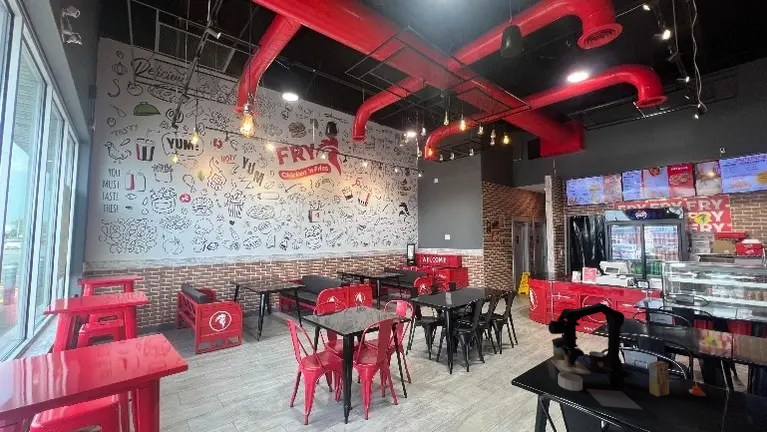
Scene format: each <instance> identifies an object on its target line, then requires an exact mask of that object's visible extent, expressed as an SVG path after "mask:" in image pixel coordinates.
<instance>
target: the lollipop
mask: <svg viewBox="0 0 767 432" xmlns="http://www.w3.org/2000/svg"><path fill="white" fill-rule="evenodd" d="M693 377H694V381H695V385H693V386H692V387H691V388H690V389H688V392H689V393H690V394H692V395H694V396H696V397H702V396H705V397H706V396H707V395H706V393H705V392H704V391H703V390H702V389H701V387H699V386H698V385H697V384H698V382H699V383H700V384H701V385H702V382H701V380H698V379H697V377H696V372H695V371H694V372H693Z"/></svg>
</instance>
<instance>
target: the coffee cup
mask: <svg viewBox="0 0 767 432" xmlns="http://www.w3.org/2000/svg"><path fill="white" fill-rule="evenodd" d="M552 351H553V352H552V354H553V360H565V357H564V354H565V352H564V350H563V349H562V348H561V347H559V348H556V347H555V346H554V345H553V344H552Z"/></svg>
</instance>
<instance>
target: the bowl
mask: <svg viewBox="0 0 767 432" xmlns="http://www.w3.org/2000/svg"><path fill="white" fill-rule="evenodd" d="M583 381H584V379H583V378H582V376H580V375H578V374H577V373H568V372H559V373H558V374H557V384H558V385H559V387H561V388H563V389H565V390H568V391H574V392H579V391H582V390H583V387H584V386H583V385H584V384H583V383H584V382H583Z"/></svg>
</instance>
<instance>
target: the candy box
mask: <svg viewBox="0 0 767 432" xmlns="http://www.w3.org/2000/svg"><path fill="white" fill-rule="evenodd" d="M648 365H649V366H648V367H649V368H648V369H649V370H648V371H649V372H648V373H649V379H648V380H649V381H648V383H649V394H650V395H653V396H655V397H662V396H667V395H669V394H670V377H669V376H670V364H669V363H667V362H665V361H661V360H658V361H654V362H649V363H648Z"/></svg>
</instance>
